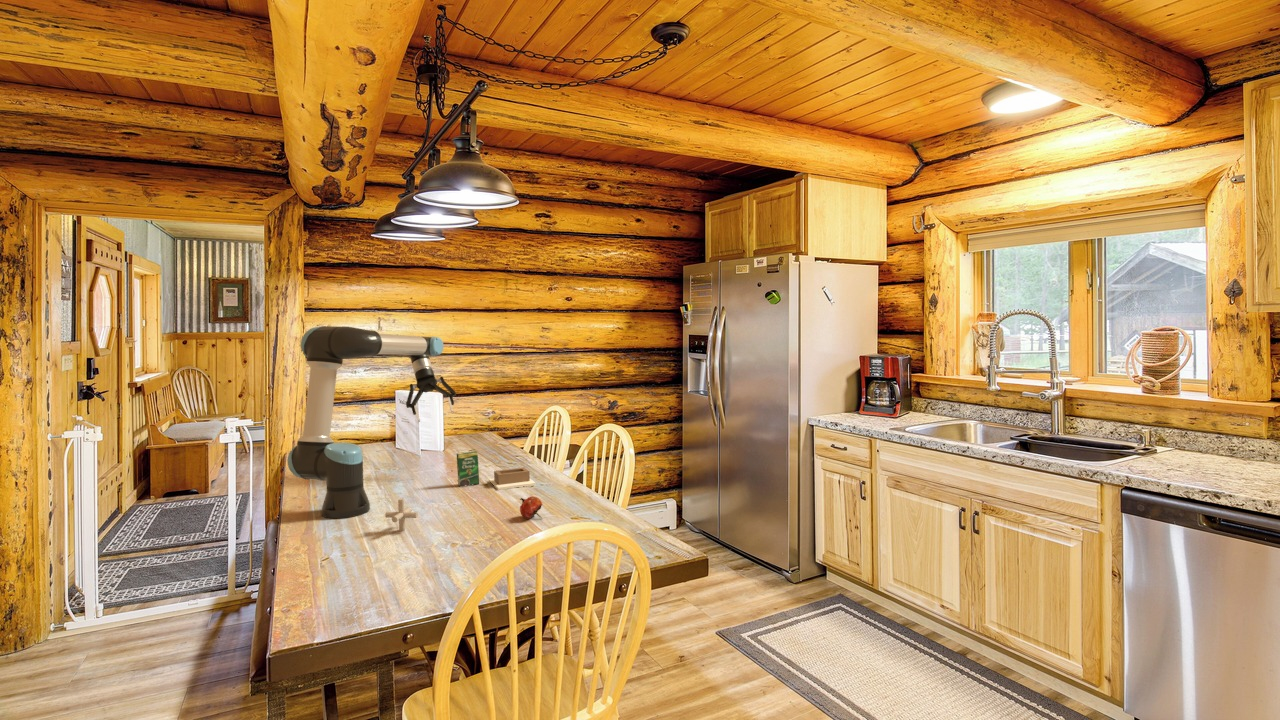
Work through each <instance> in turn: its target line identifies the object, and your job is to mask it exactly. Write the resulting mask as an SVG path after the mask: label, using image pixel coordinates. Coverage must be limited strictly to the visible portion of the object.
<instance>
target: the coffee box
mask: <svg viewBox="0 0 1280 720" xmlns="http://www.w3.org/2000/svg"><path fill="white" fill-rule="evenodd" d="M478 454H479V452H478V451H477V450H475V451H469V452H467V451H466V452H460V453H459V452H458V453H456V466H457V467H456V468H457V485H458V487H460V486H462V487H466V486H465V485H469V486H473V485H472V484H476V485H480V470H479V457H478V456H479V455H478Z"/></svg>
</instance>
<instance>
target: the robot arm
mask: <svg viewBox="0 0 1280 720" xmlns="http://www.w3.org/2000/svg"><path fill="white" fill-rule="evenodd" d="M300 350H301V352H302V354H303V356H305V358H306V364H307V366H309V367H310V369H309V378H308V387H307V396H306V403H305V404H306V406H305V415H304V422H303V430H302V436H300V438H298V439H297V443H296V445H295V446H293V447H292V448H291V450H290V451H289V453H288V455H287V459H286V460H287V466H288V470H289V471H290V473H291V474H293V475H294V476H295V477H296V478H299V479H303V480H315V481H324V482H325V483H326V486H325V487H326V493H325V496H324V500H323V503H322V506H321V516H322V517H324V518H326V519H327V518H328V519H345V518H352V517H357V516H361V515H364V514H365V513H367V512H369V511H370V510H371V503H370V500H369V498H368V496H367V493H366V490H365V488H364V487H365V486H364V456H363V450H362V448H361V447H360V446H359V445H358V444H355V443H350V442H335V441H334V440H333V439H332V438H331V429H332V428H331V427H332V420H333V411H334V403H335V402H334V400H335V393H336V392H335V391H336V383H337V372H338V369H340V368H341V367H343V360H353V359H359V358H367V357H369V358H372V357H376V356H378V355H401V356H404V357H406V358H409V359H410V361H411V365H412V368H413V373H414V376H415V380H416V384H412V383H410V384H409V393H408V395H407V398H406V403H405V407H406V409H409V408H410V409H411V411H412V414H413V415H414V416H415V415H416V419H417V423H420V422H421V420H420V414H419V412H418V407H417V404H418V401H419V400H420V398H421V397H422V395H423V394H424V393H429V392H433V391H436V392H438V393H440V394H442V395H444V397H447V402H448V405H449V408H450V412H451V414H454V408H453V406H454V405H455V401H454V397H456V396H457V393H456V391H455V390H454V389H453V388H452V386H450V385H449V384H448V383H447V382H446V381H445V379H444V376H440V377H439V378H436V376H435V373H434V370H433V365H432V361H431V359H430V356H432V357H433V356H440V355H441V354H442V353H443V351H444V341H443V339H442V338H441V337H438V336H420V335H407V334H406V335H405V334H403V335H402V334H390V333H389V334H388V333H379V332H378V331H376V330H373V329H365V328H357V327H354V326H353V327H352V326H331V325H329V326H327V325H325V326H323V325H321V326H315V327H312V328H310V329H308V330H307V331H306V332H304V334H303V336H302V338H301V341H300ZM438 383H439V384H441V385H442V386H443V387H444V388H445V389H446V390H445V389H444V388H442V387H441V386H439V385H438ZM416 389H418V391H417V393H416V395H415V397H414V398H413V396H414V391H415V390H416ZM412 399H413V400H412Z"/></svg>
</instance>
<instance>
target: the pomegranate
mask: <svg viewBox="0 0 1280 720" xmlns="http://www.w3.org/2000/svg"><path fill="white" fill-rule="evenodd" d="M519 501H521V505H520V507H519V512H520V515H521V516H522V517H523V518H524V519H526V520H529V519H532V517H534V516H536V515H537V516H538V517H539V518H541V519H542V520H543V518H542V517H541V515H539V514H538V512H539V511H540V510H541V508H542V507H543V505H544V503H543V502H542V500H541V499H540V498H539V497H536V496H533V495H531V496H528V497H527V498H523V497H520V499H519Z"/></svg>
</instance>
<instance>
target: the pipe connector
mask: <svg viewBox="0 0 1280 720" xmlns="http://www.w3.org/2000/svg"><path fill="white" fill-rule="evenodd" d="M397 504H398V507H397V510H398V511H386V512H385V513H384V516H385V518H388V519H389V518H390V519H391V522H392V523H397V522H398V526H399V527H398V529H399V531H398V532H405V531H406V519H418V518H419V512H416V511H412V510H413V509H412V508H411V507H410V506H408V507H405V498H403V497H402V498H398V499H397Z"/></svg>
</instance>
